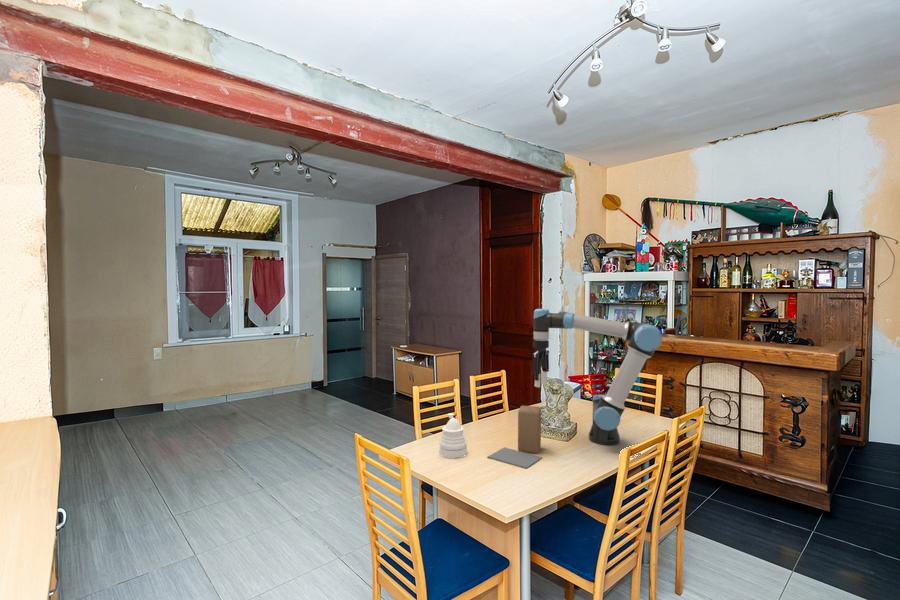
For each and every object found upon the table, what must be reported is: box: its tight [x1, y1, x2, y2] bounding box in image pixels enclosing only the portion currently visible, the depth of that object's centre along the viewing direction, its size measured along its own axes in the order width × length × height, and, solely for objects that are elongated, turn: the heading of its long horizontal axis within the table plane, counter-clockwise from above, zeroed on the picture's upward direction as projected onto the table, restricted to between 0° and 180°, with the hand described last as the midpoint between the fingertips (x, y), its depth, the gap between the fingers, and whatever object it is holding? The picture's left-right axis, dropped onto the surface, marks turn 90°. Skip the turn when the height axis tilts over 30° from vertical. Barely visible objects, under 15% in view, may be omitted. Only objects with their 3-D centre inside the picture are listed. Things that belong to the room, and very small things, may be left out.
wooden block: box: [517, 405, 542, 454], centre depth 214 cm, size 10×10×20 cm
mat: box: [487, 447, 543, 470], centre depth 203 cm, size 20×15×1 cm
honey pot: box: [439, 412, 468, 459], centre depth 209 cm, size 13×13×18 cm
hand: (540, 385), depth 223 cm, fingers open, 6 cm apart
